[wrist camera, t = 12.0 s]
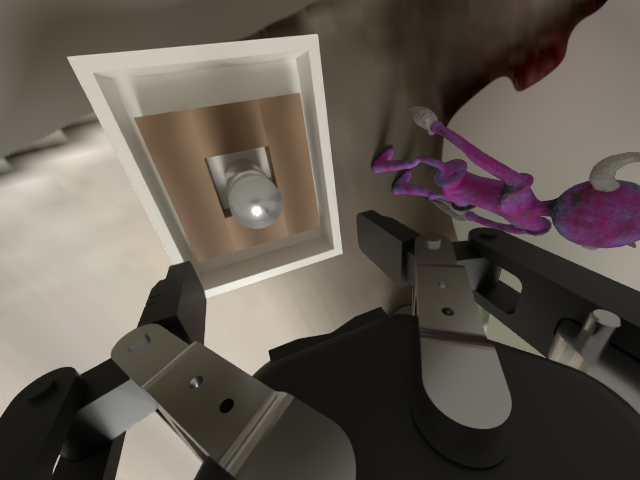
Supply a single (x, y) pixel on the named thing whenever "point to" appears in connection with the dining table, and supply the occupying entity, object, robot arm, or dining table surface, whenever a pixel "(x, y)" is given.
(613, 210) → the toy
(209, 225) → the bore plate
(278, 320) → the dining table surface
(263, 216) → the peg
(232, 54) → the box
